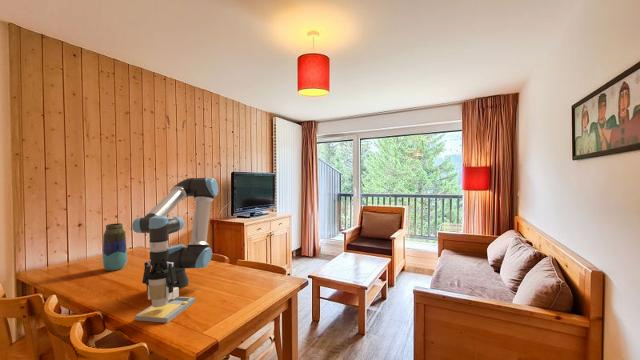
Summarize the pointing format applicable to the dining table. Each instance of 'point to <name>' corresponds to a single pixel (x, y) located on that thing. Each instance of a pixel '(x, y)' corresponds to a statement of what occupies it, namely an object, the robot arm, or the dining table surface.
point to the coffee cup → (158, 288)
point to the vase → (114, 247)
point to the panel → (166, 310)
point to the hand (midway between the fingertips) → (160, 298)
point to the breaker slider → (175, 293)
